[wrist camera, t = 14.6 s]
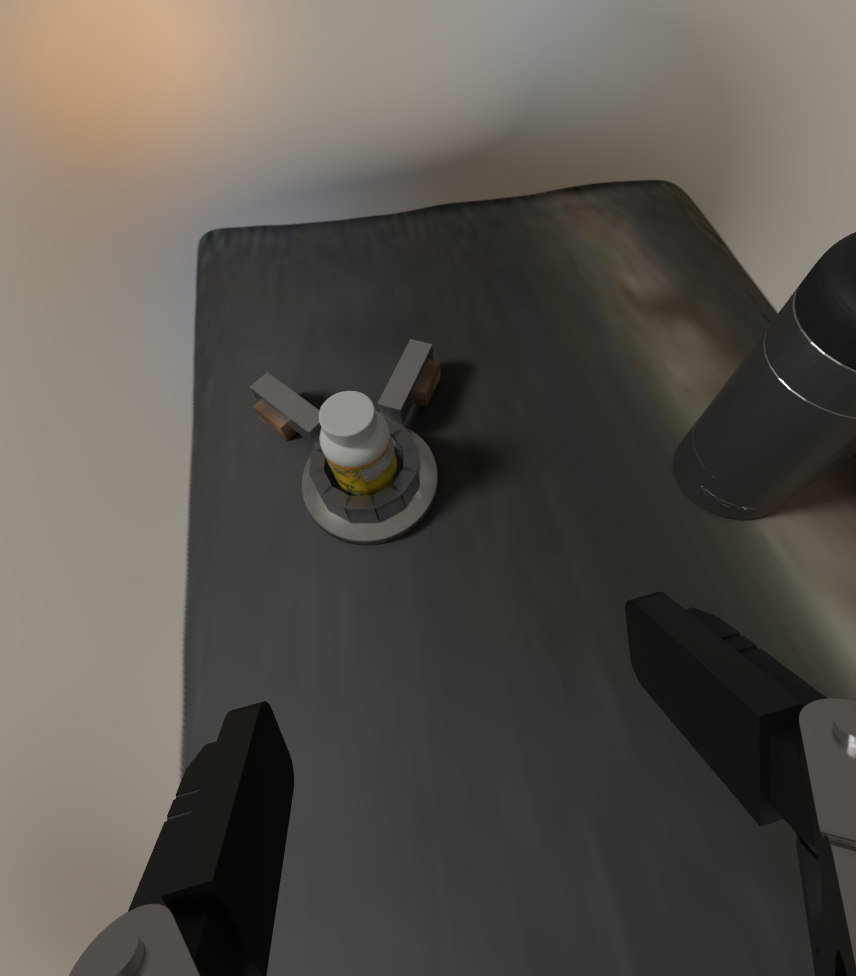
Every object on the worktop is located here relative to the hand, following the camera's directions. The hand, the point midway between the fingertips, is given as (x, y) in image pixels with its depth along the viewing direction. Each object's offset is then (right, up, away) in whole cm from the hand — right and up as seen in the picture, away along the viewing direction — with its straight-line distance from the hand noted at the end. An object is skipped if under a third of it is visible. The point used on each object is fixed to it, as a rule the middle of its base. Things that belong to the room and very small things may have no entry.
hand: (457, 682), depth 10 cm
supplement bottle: (-6, +5, +32) cm, 33 cm away
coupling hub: (-6, +5, +33) cm, 34 cm away
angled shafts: (-8, +14, +35) cm, 39 cm away
